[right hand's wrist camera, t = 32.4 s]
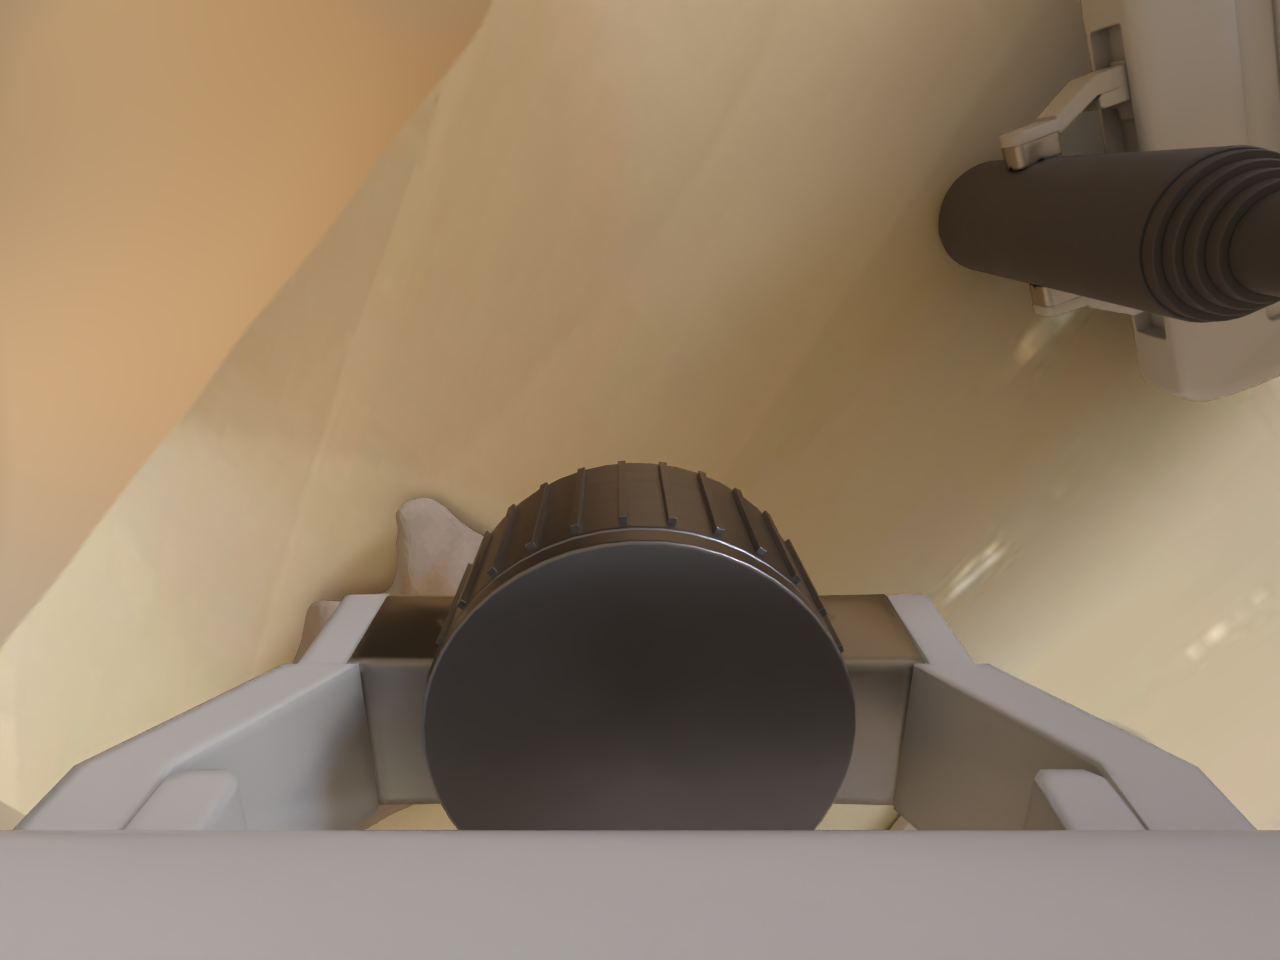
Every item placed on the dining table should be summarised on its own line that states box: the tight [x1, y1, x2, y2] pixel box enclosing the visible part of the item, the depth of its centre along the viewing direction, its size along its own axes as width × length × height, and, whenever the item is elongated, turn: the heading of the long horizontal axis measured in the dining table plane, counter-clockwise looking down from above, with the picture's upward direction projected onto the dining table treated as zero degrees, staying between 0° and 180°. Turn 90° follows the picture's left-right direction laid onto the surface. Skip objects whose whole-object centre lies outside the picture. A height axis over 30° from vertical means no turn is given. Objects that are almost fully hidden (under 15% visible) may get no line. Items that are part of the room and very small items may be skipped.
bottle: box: [939, 145, 1280, 323], centre depth 31 cm, size 5×5×22 cm
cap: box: [421, 461, 856, 830], centre depth 9 cm, size 4×4×2 cm
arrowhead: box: [292, 498, 483, 830], centre depth 49 cm, size 14×5×30 cm
